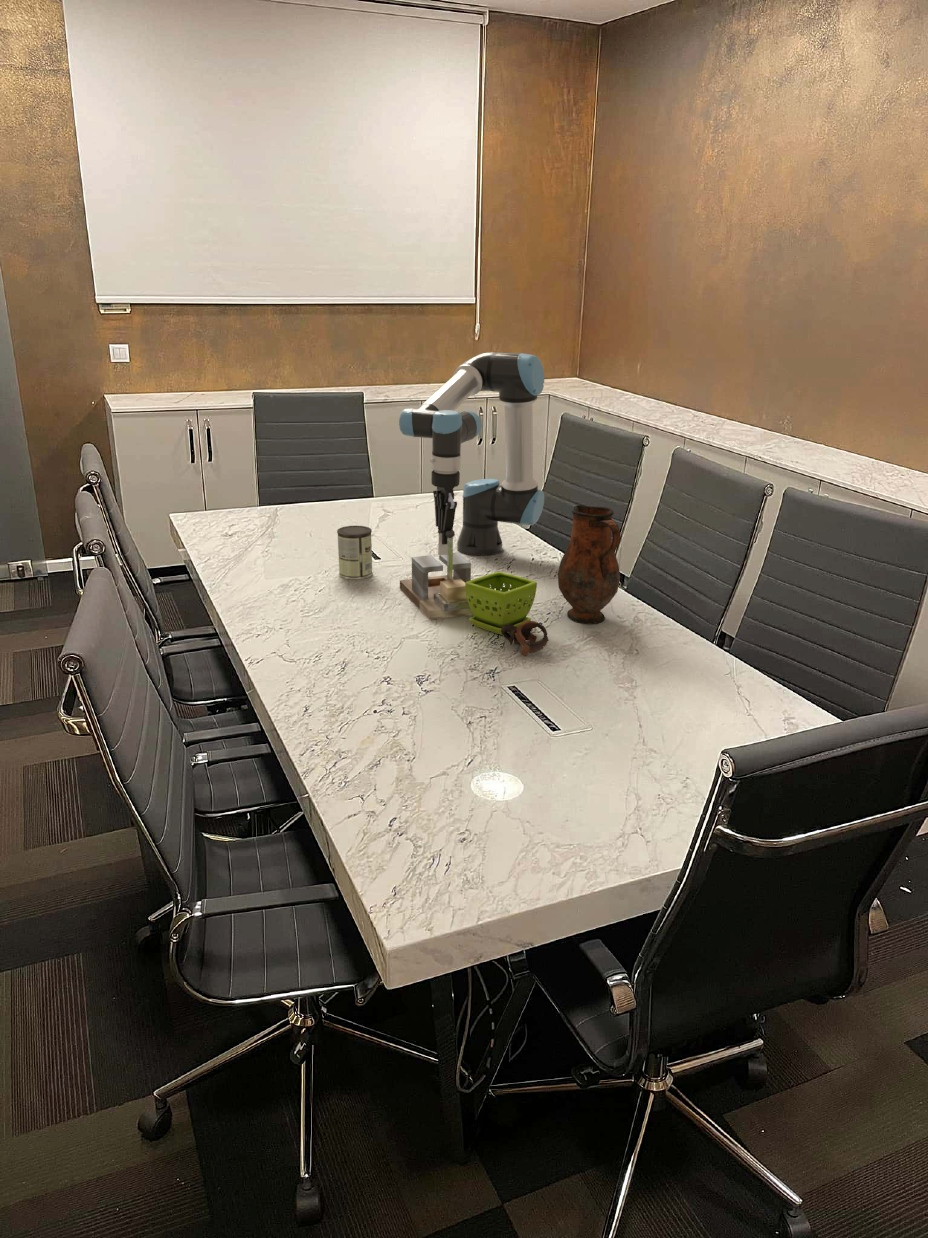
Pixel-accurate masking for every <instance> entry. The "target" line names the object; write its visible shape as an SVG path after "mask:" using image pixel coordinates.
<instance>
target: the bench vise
mask: <svg viewBox="0 0 928 1238" xmlns="http://www.w3.org/2000/svg"><path fill="white" fill-rule="evenodd" d="M438 557H439V558H438V559H439V561H438V560H437V558H435V557H434V556H433V555H432V554H431V555H429V554H428V555H419V556H412V557H411V578H409V579H399V589H400V590H401V591H402V592H403V593H404V594H405V595H406V597H408V598H409V600H410V601H411V602H412V603H413V604H414V605H415V606H416V607H417V608H418V609H419V610H420V611H421V613H423V614H424V616H425V617H426V618H427V619H428V620H429V621H432V620H440V619H447V618H448V619H449V618H456V617H464V616H472V615H473V613H472V611H471V609H470V608H469V609H460V610H452V611H444V610H443V609H442V608H441V607H440V606H439V605H438V604H437V603H436V602H435V601H434V593H440V581H447V574H446V575H445V574H444V575H438V576H429V573H433V572H443V571H444V565H445V566H446V567H447V555H439V556H438ZM440 561H441V562H440ZM471 577H472V563H471V561H470V560H468V559H467V558H466V557H465V556H464V555H462V553H461V552H453V579H452V580H457V579H461V580H462V581H464V582H465V583H466V582H467V581H470V580H472V578H471ZM473 616H474V615H473Z"/></svg>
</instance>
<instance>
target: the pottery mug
mask: <svg viewBox="0 0 928 1238" xmlns="http://www.w3.org/2000/svg"><path fill="white" fill-rule="evenodd" d="M536 628H538V629H540V630H541V632H542V633H543V637H542V638H541V639H540V640H537V639H538V636H537V635H535V634H534V633H532V630H533V629H536ZM508 632H509V633H508ZM501 633H502V635H501V636H503V638H505V640H507V641H508V643H509V645H510V646H512V645H513V644H514V645H516V644H517V643H519V644H520V645H521V646H522V648H521V649H520V651H519V652H520V655H522V656H523V657H524V656H525V657H527V656H528V655H529V654H533V653H535V652H536V653H537V652H538V651H541V650H543V649H544V647H546V646H547V643H548V642H549V640H550V639H549V637H548V631H547V628H546V627H545V626H544V625H543V624H541V623H540V622H537V621H534V620H531V621H526V622H523V623H522V624H521V625H519V626H517V627H516V626H513V625H510V624H506V625H504V626H503V627H502V629H501ZM526 641H527V642H528V641H529V643H527V642H526Z"/></svg>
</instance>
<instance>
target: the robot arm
mask: <svg viewBox="0 0 928 1238" xmlns="http://www.w3.org/2000/svg"><path fill="white" fill-rule="evenodd" d="M544 384H545V371H544V366H543V362H542V361H541V360H540V358H539V357H538V356H536V355H534V354H528V353H525V352H497V351H488V352H487V351H486V352H484V353H480V354H477V355H475V356H473V357H471V358H469V359H467V360H466V361H464V362H462V363H461V364H460V365H459V366H458V367H457V368H455V370H454V371H453V375H452V377H450V379H448V380H447V381H446V382H445V383H444V384H443V385H442V386H440V387H439V389H437V390H436V391H435V392H434V393H433V394H432V395H431V396H430V397H428V398H427V399H426V400H425V401H424V402H423V403H422V404H420V405H419V406H418V407H417V408H414V407H412V408H404V409H403V410H402V411H401V412H400V415H399V419H398V425H399V430H400V432H401V434H402V435H403V436H406V437H411V438H412V437H413V438H423V439H431V441H432V442H431V443H432V445H431V446H432V448H431V458H430V461H429V462H430V463H431V468H432V471H431V481H430V482H431V485H432V486H433V487H436V490H433V492H432V494H433V500H434V513H435V514H434V515H435V527H437V534H438V544H437V545H438V549H437V550H438V552H437V553H438V554H437V555H447V539H448V537H447V536H446V531H447V530H449V529H452V530H453V531H454V524H455V523H454V522H455V517H456V509H457V507H458V501H454V500H455V493H454V488H456V487H458V486H459V485H460V482H461V481H460V477H461V475H460V470H461V460H462V459H461V458H462V457H461V451H462V449H461V447H462V444H463V443H466V442H469V441H471V440H473V439H475V438H476V437H478V435H479V434H480V433H481V430H482V421H481V417H480V416H479V415H478V414H477V413H476V412H474V411H471V410H467V411H462V412H460V411H457V410H456V409H458V408H459V407H460V406H461V405H462V404H463V403H464V402H465V401H466V400H467V399H469V398H470V397H472V396H475V395H478V393H479V392H493V393H498V394H499V395H498V397H499V398H498V400H499V401H500V402H501V403H502V404H503V407H504V446H505V447H504V448H505V449H504V450H505V451H504V452H505V456H504V457H505V479H504V480H502V482H501V485H500V481H499V479H496V478H483V479H475V480H471V481H468V482H466V483H465V484H464V485H463V491H462V493H463V494H462V527H461V530H460V533H459V536H458V539H457V542H456V544H457V545H456V549H457V550H458V552H459V553H461V554H462V553H463V554H466V555H470V556H472V555H473V556H492V555H495V554H498V553H501V552H502V551H503V541H502V537H501V534H500V530H499V522H500V523H506V524H507V523H508V524H513V525H520V526H533V525H535V524H536V523H537V522H538V520H539V519H540V517H541V515H542V512H543V510H544V504H545V493H544V491H543V490H541V489H538V488H539V485H538V484H539V482H538V481H537V479H535V478H534V465H533V464H534V463H533V462H534V461H533V459H534V456H533V455H534V453H533V452H534V450H533V449H534V447H533V446H534V443H533V441H534V439H533V435H534V434H533V404H534V403H535V402H536V401H537V400H538V395H541V394H542V392H543V390H544Z"/></svg>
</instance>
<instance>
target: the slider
mask: <svg viewBox="0 0 928 1238" xmlns="http://www.w3.org/2000/svg"><path fill="white" fill-rule="evenodd" d="M455 535H456V534H455V531H454V529H453V530H452V529H449V530H447V531H446V536H447V537H448V539H447V566H446V568H447V569H446V575H447V580H452V579H453V553H454V537H455ZM434 601H435V602H436V603H437V604H438V605H439V606H440V607H441V608H442V609H443V610H444V611H452V610H460V609H469V608H470V607H469V604H468V600H466V601H457V602H449V603H447V602H446V601H445V600H444V599H443V598H442V597H441V596H440V593H434Z"/></svg>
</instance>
